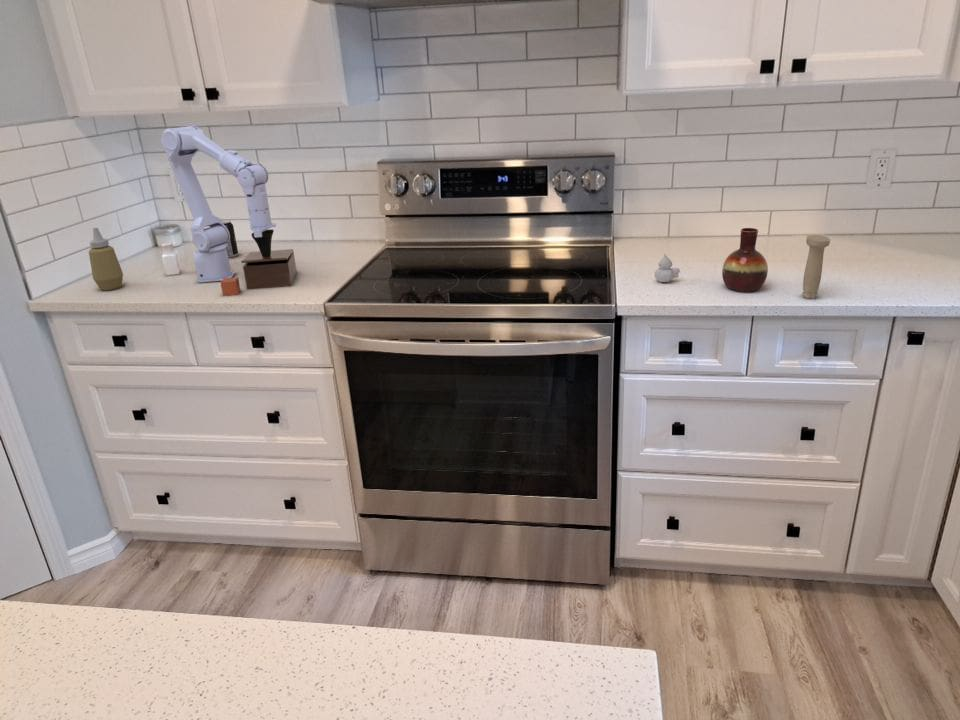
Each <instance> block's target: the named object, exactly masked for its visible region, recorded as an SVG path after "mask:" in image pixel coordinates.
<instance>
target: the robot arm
mask: <svg viewBox="0 0 960 720" xmlns="http://www.w3.org/2000/svg"><path fill="white" fill-rule="evenodd" d="M205 134H206V133H205V131H204V130H203V129H202V128H201V129H200V128H199V127H198V126H196V125H188V126H180V127H174V128H172V127H171V128H170V127H169V128H166V129H165V130H163V132H162V136H161V139H160V142H161V145H162V147H163V150H164V151H165V154H166V156H167V159H168V163H169V166H170V167H171V171H172V172H173V175H174V177H175V179H176V181H177V185H178V186H179V189H180V192H181V194H182V196H183V197H184V200H185V202H186V205H187V206H188V210H189V211H190V214H191V216H192V218H193V223H192V224H191V226H190V228H189V231H190V234H191V238H192V243H193V245H194V247H195V249H196V250H194V253H193V261H194V267H195V271H196V275H197V283H208V282H209V283H210V282H211V283H212V282H221V281H222V280H223V279H224V278H234V275H235V274H236V271H232V270H231V264H230V258H228V254H227V249H226V247H228V244H227V243H228V242H229V241H230V233H229V231H228V229H227V228H226V227H225V226H224V224H223V222H222V220H223V219H222V218H220V217H219V216H216V215H214V214H213V213H212V210H211V207H210V204H209V203H208V201H207V197H206V196H205V193H204V191H203V189H202V186H201V184H200V182H199V179H198V176H197V174H196V172H195V170H194V167H193V165H192V161H193V157H194V156H196V154H197V153H198V151H199V152H201V153H203V154H205V155H207V156H209V157H210V158H212V159H214V160H215V161H218V163H219V166H220V168H221V169H222V170H224V171H226V172H227V173H229V174H230V175H232V176H233V177H234V178H236V179H237V182H238V183H239V185H240V187H241V189H242V192H243V194H244V195H245V200H246V206H247V212H248V213H247V214H248V218H249V224H250V226H249V228H250V230H251V231H252V233H251V238H252V240H254V241H255V244H256V245H257V247H258V248H259V252H261V254H262V256H263V257H270V255H271V251H272V239H273V235H274V229H272V228H276V226H277V223H276V222H272V218H271V211H270V205H269V200H268V193H267V188H266V184H267V183H268V181H269V172H268V170H267V168H266V167H265V166H264V165H263V164H262V163H259V162H258V163H253V162H252V161H251V160H250V159H246V158H245V157H243V156H242V155H240V154H239V152H238V151H237V150H235V149H234V150H233V149H232V150H231V149H228V150H225V149H224V148H223V147H222V146H220V145H219V144H217V143H216V142H215V141H213V140H212V139H211V138H209V137H208V136H207V135H205Z"/></svg>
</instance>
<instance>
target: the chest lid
mask: <svg viewBox="0 0 960 720" xmlns="http://www.w3.org/2000/svg"><path fill="white" fill-rule="evenodd" d="M293 251H294V249H293V248H290V249H275V250H274V249H273V250H271V255H270V257H263V256H262V254H261V252H260V251H252V252H249V253H248V254H247V255H246V256H245V257H244V258H243V259H242V260H241V261H240V262H241V264H245V263H249V262H263V261H276V260H287V259H288V257H289V256H290V255H291V254H292V252H293Z"/></svg>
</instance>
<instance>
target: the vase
mask: <svg viewBox="0 0 960 720" xmlns="http://www.w3.org/2000/svg"><path fill="white" fill-rule="evenodd" d="M758 233H759V229H757V228H754V227H744V228H741V229H740V241H739V248H738V249H736V250H734V251H732V252H731V253H730V254H728V255H727V257H726V258H725V259H724V262H723V264H722V271H721V275H722V280H723V284H724V285H725V287H726V288H727V289H729V290H730V291H734V292H739V293H752V292H756V291H758V290H759V289H761V288H762V287H763V286H764V284H765V282H766V279H767V277H768V272H769V268H768V262H767V260H766V258H765V256H764V255H763V254H762V253H761V252H760V251H758V250H757V249H756V244H757V240H758Z"/></svg>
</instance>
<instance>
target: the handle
mask: <svg viewBox="0 0 960 720" xmlns="http://www.w3.org/2000/svg"><path fill="white" fill-rule="evenodd" d="M805 242H806V245H807V246H808V247H809V249H808V255H807V259H806V263H805V268H804V271H803V278H802V298H805V299H807V300H810V299H812V300H814V299H816V298H817V296H818V291H819V288H820V285H821V280H822V274H823V263H824V253H825V248H826V247H829V245H830V243H831V238H830V237H828V236H825V235H821V234H810V235H807V236H806V241H805Z"/></svg>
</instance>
